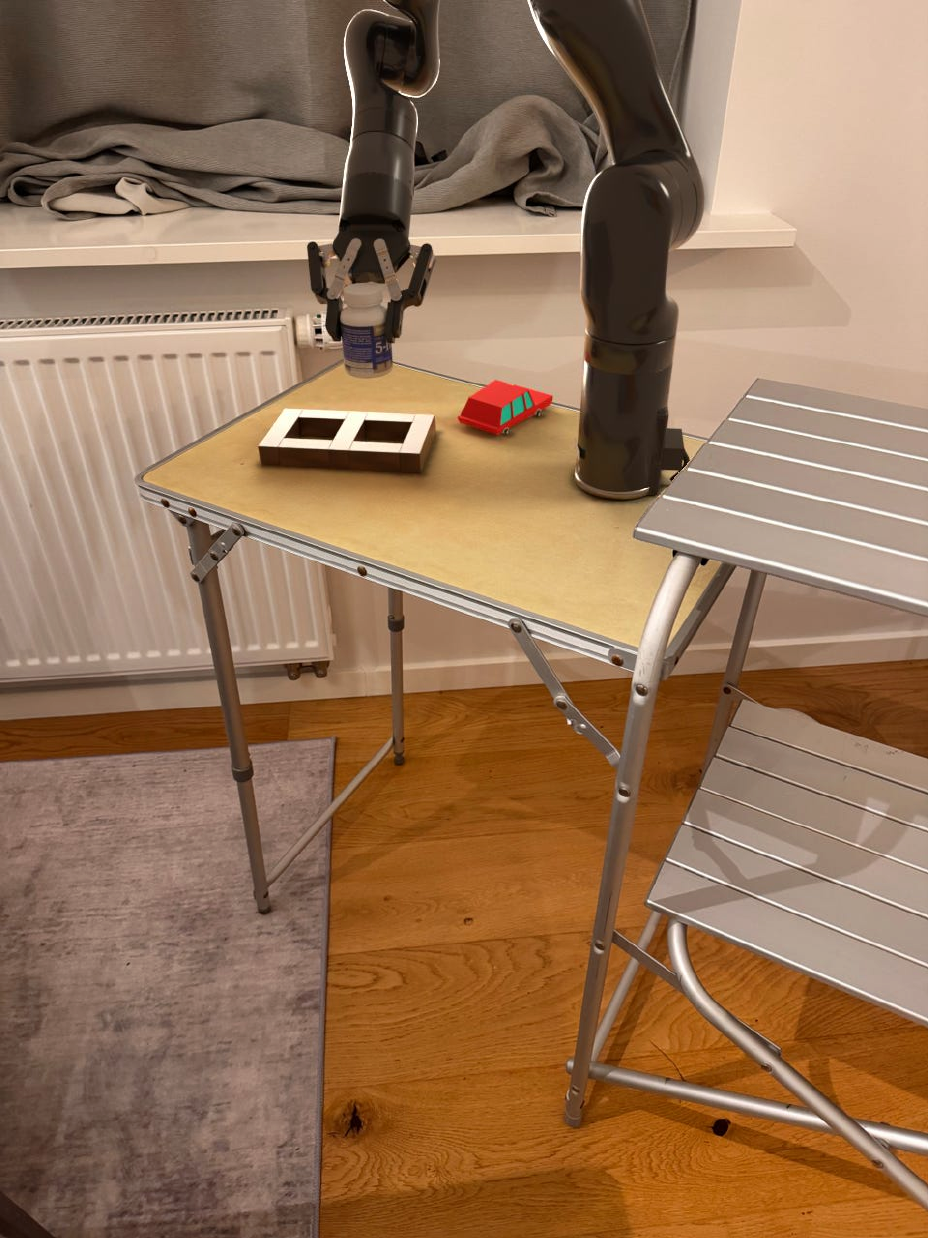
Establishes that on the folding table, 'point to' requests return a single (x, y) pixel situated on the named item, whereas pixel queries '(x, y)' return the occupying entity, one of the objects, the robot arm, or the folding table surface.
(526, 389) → the toy car
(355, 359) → the pill bottle
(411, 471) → the peg board
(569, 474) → the folding table surface
